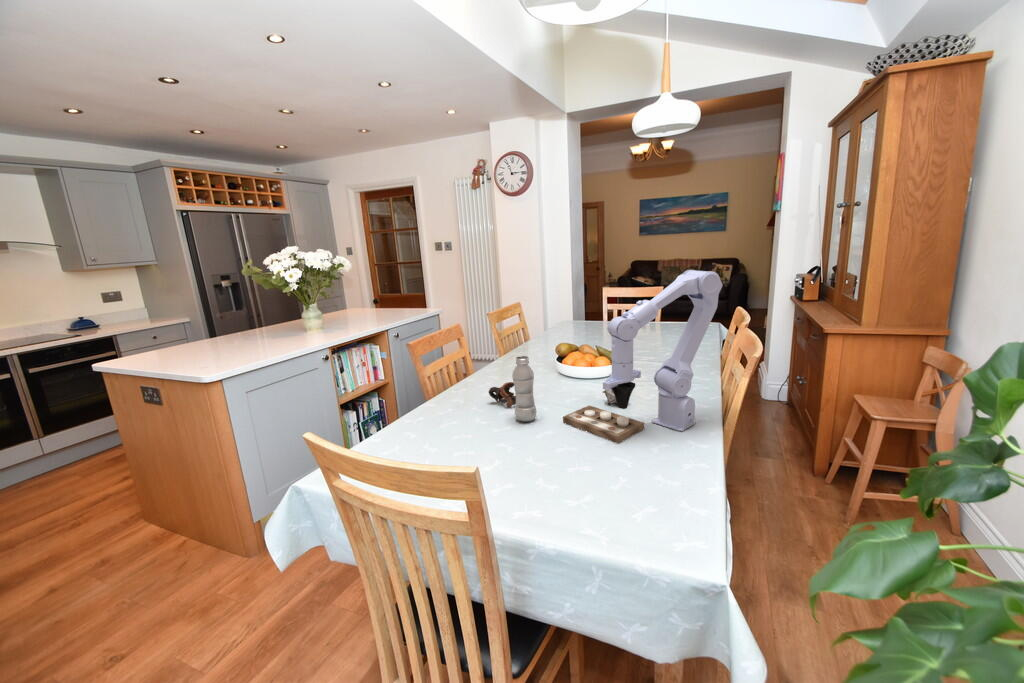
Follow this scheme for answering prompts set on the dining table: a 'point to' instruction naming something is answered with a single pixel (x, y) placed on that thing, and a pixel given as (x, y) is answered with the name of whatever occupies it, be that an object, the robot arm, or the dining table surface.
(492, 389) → the dark brown twisted loops
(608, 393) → the game die
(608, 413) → the button middle
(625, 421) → the button
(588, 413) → the button
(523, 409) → the plastic bottle
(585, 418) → the button board
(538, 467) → the dining table surface
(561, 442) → the dining table surface
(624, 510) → the dining table surface
